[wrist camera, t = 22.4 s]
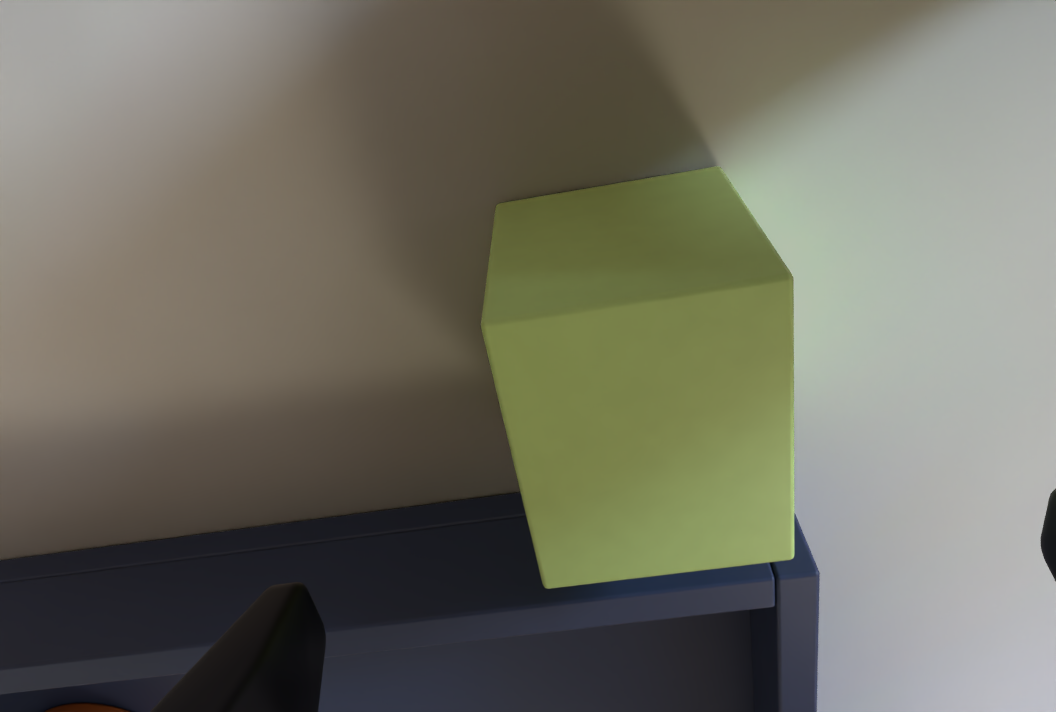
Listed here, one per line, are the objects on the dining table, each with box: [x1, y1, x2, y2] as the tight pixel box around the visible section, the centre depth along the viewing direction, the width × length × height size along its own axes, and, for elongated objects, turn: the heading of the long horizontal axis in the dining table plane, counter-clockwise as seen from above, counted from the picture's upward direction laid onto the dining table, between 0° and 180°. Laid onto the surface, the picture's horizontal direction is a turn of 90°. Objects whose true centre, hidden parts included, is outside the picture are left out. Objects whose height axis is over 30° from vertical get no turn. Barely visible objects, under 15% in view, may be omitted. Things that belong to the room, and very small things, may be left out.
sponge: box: [481, 166, 794, 589], centre depth 13 cm, size 4×5×4 cm
